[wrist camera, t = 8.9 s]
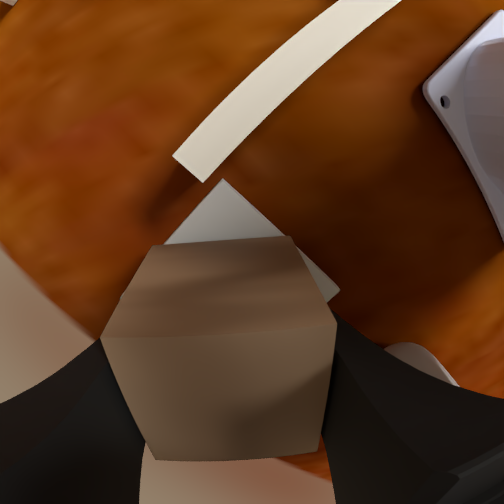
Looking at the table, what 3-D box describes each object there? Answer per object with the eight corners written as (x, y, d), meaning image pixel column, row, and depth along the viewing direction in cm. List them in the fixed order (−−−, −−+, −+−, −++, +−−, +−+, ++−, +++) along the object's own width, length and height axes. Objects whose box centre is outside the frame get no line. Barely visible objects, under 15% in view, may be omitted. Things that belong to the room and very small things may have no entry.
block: (290, 235, 10) (337, 323, 6) (289, 345, 12) (317, 451, 7) (152, 245, 10) (99, 337, 5) (174, 353, 12) (155, 459, 7)
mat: (337, 285, 12) (340, 290, 12) (234, 372, 14) (234, 378, 13) (222, 178, 10) (222, 180, 10) (122, 293, 12) (119, 298, 11)
